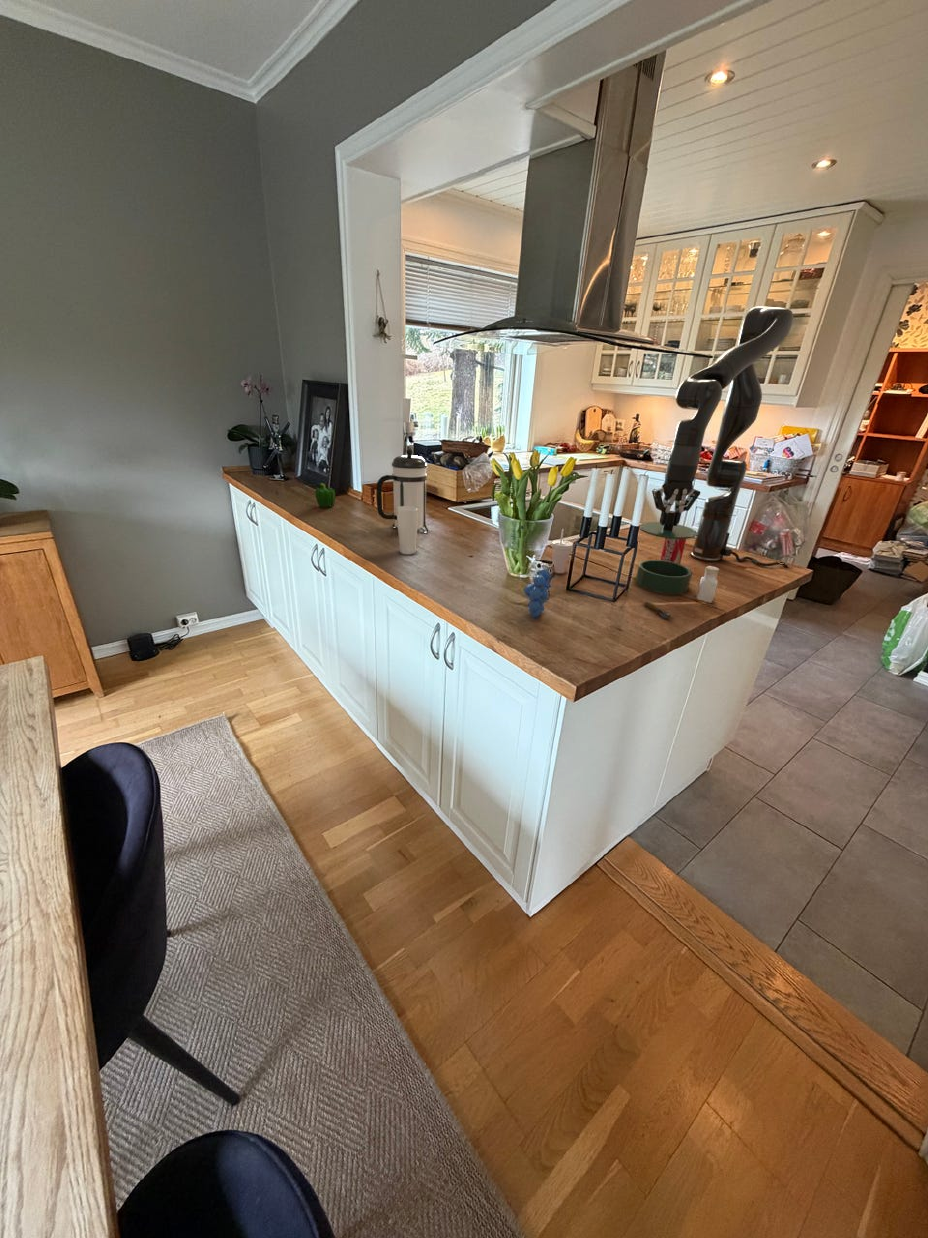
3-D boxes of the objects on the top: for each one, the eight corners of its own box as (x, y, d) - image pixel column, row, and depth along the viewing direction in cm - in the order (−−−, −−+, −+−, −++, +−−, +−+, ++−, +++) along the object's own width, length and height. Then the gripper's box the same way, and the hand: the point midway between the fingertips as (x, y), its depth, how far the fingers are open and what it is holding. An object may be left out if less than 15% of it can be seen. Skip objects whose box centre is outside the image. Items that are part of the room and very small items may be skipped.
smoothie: (544, 570, 153) (549, 526, 147) (562, 568, 155) (567, 525, 149) (554, 577, 148) (560, 532, 141) (572, 575, 150) (579, 531, 143)
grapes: (527, 602, 130) (532, 559, 125) (552, 607, 128) (558, 564, 123) (514, 619, 121) (518, 574, 115) (540, 624, 118) (545, 579, 113)
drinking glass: (394, 554, 161) (393, 509, 154) (403, 548, 167) (402, 504, 160) (412, 556, 159) (412, 511, 152) (421, 551, 165) (421, 507, 158)
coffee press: (401, 522, 196) (400, 444, 183) (436, 528, 190) (437, 448, 177) (377, 532, 182) (373, 449, 169) (413, 539, 176) (412, 453, 163)
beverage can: (680, 571, 157) (689, 535, 151) (660, 569, 158) (668, 533, 152) (676, 565, 162) (685, 530, 157) (657, 563, 163) (665, 528, 158)
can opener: (644, 605, 131) (645, 601, 130) (651, 604, 131) (652, 600, 131) (665, 620, 123) (666, 616, 123) (673, 619, 124) (674, 615, 123)
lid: (677, 525, 147) (682, 505, 144) (707, 540, 133) (713, 519, 130) (629, 525, 144) (633, 505, 142) (654, 541, 130) (659, 519, 128)
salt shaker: (711, 603, 134) (721, 571, 130) (696, 601, 135) (705, 569, 131) (711, 598, 137) (720, 566, 133) (695, 595, 139) (704, 564, 134)
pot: (670, 576, 152) (674, 559, 150) (697, 594, 140) (702, 576, 137) (627, 576, 150) (630, 560, 148) (650, 595, 137) (654, 577, 135)
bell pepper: (338, 508, 213) (336, 484, 209) (319, 509, 209) (317, 486, 205) (332, 503, 220) (331, 481, 215) (314, 505, 216) (312, 482, 211)
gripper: (666, 463, 126) (652, 529, 133) (715, 464, 128) (698, 528, 135) (652, 459, 132) (639, 521, 140) (699, 460, 134) (684, 521, 142)
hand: (668, 524), depth 138 cm, fingers closed on lid, 2 cm apart
